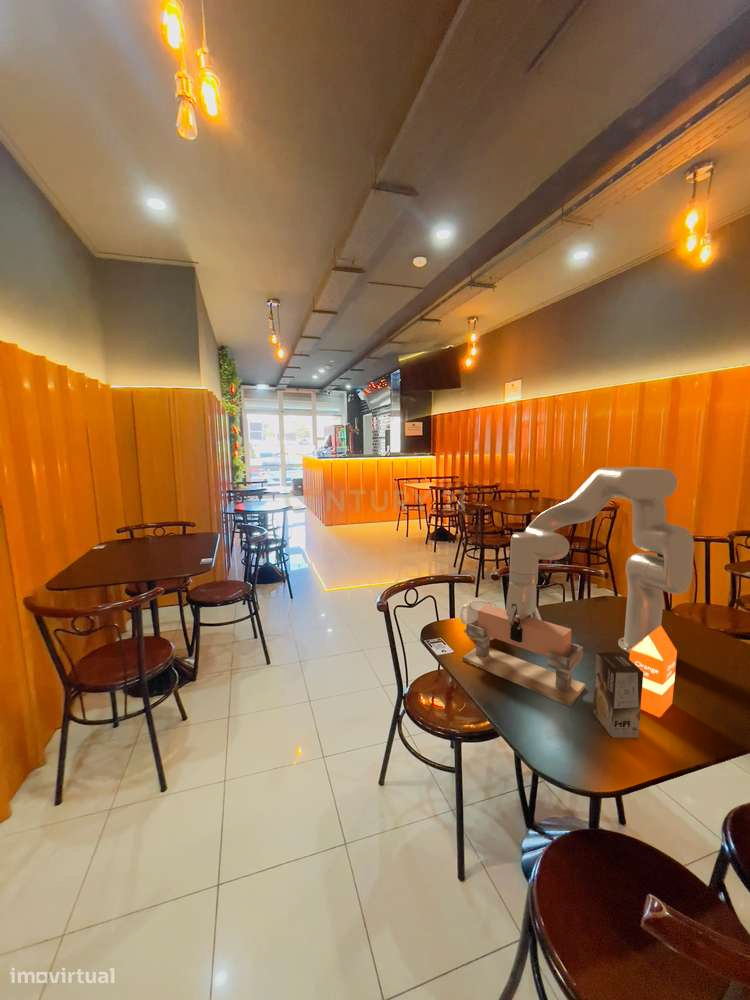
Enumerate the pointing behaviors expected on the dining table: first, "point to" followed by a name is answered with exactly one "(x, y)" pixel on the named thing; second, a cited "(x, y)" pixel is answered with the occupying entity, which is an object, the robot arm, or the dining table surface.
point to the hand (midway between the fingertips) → (521, 636)
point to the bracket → (537, 614)
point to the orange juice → (656, 670)
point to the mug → (473, 611)
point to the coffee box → (618, 694)
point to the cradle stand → (528, 668)
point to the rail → (526, 632)
